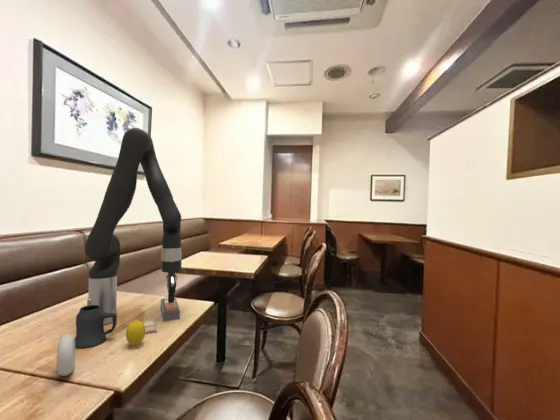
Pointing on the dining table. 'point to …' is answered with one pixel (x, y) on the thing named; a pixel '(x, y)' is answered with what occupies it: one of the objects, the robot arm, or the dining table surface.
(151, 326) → the tile
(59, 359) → the donut
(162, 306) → the keypad
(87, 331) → the mug
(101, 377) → the dining table surface
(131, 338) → the lemon
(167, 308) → the key terracotta
